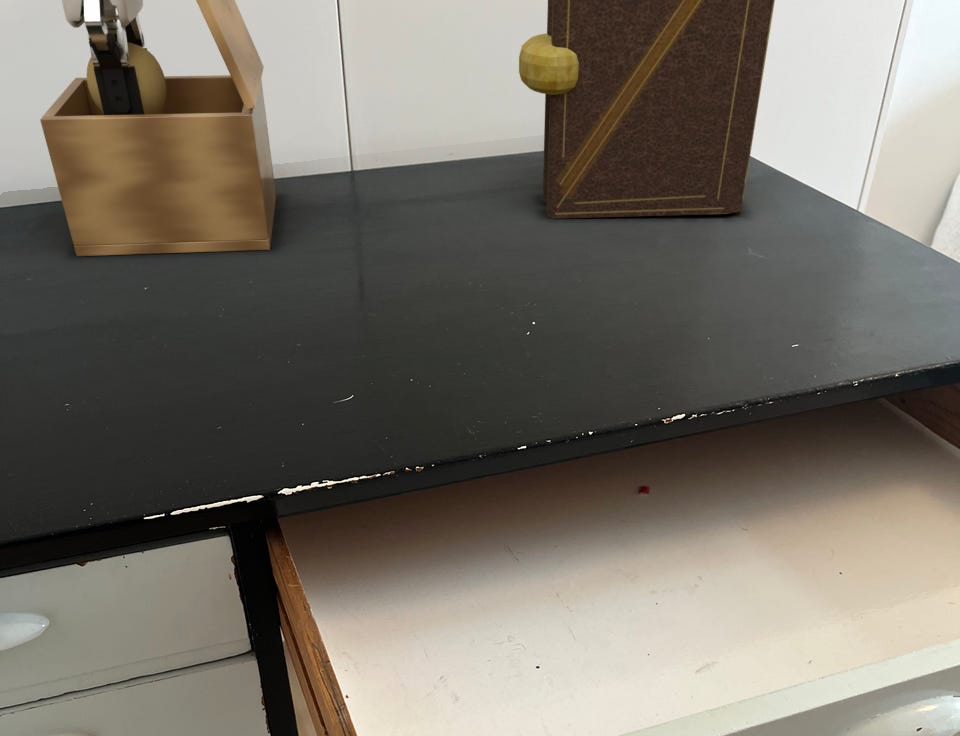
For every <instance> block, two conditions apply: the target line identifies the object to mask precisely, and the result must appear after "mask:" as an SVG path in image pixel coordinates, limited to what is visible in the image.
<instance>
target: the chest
mask: <svg viewBox="0 0 960 736" xmlns="http://www.w3.org/2000/svg"><path fill="white" fill-rule="evenodd" d="M164 77H165V81H166V100H165V103H164V107H163V109H162V112H161V114H147V115H104V114H103V113H102V112H101V111H100V109H99V108H98V107H97V105H96V104H95V102H94V100H93V98H92V96H91V94H90V91H89V88H88V83H87V77H75V78H74V79H73V80H72V81H71V82H70V83H69V85H68V86H67V87H66V88H65V89H64V90H63V92H62V93H61V94H60V95H59V97H57V98H56V100H55V101H54V102H53V103H52V104H51V106H50V107H49V108H48V109H47V110H46V112H45V113H44V114H43V115H42V116H41V118H40V124H41V128H42V132H43V136H44V139H45V144H46V147H47V152H48V155H49V158H50V162H51V165H52V170H53V174H54V176H55V181H56V185H57V188H58V191H59V195H60V199H61V204H62V207H63V210H64V215H65V218H66V222H67V225H68V230H69V233H70V236H71V240H72V244H73V248H74V253H75V256H76V257H93V256H94V257H96V256H99V257H100V256H128V255H129V256H130V255H152V254H184V253H188V254H189V253H214V252H215V253H217V252H244V251H246V252H247V251H270V250H271V245H272V238H273V237H272V235H273V226H274V219H275V211H276V201H277V192H276V191H277V190H276V184H275V183H276V182H275V176H274V169H273V168H274V167H273V159H272V153H271V145H270V137H269V128H268V120H267V112H266V105H265V98H264V97H265V96H264V89H263V81H262V79H261V82H260V87H259V91H258V96H257V100H256V105H255V107H253V108H251V109H249V110H246V108H245V106H244V103H243V101H242V99H241V97H240V95H239V92H238V90H237V88H236V86H235V84H234V82H233V79H232V77H231V75H230V74H223V75H222V74H219V75H216V74H215V75H164Z"/></svg>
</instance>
